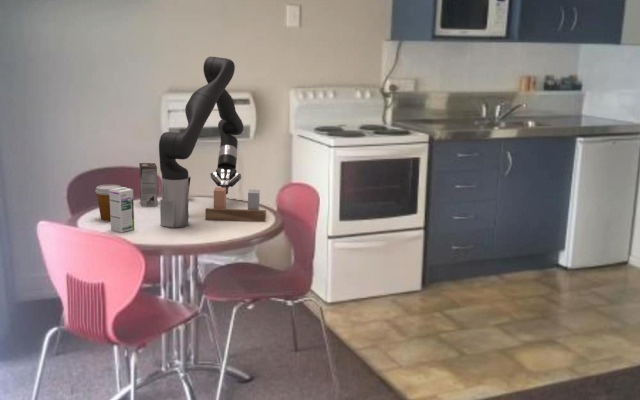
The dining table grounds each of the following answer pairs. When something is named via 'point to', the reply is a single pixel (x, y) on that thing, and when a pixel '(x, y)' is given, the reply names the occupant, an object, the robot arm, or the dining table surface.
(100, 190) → the disposable coffee cup
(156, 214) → the dining table surface
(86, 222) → the dining table surface
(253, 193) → the slate plug
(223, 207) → the terracotta plug
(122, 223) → the syrup box
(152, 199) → the coffee box
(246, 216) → the brown wooden flat block
